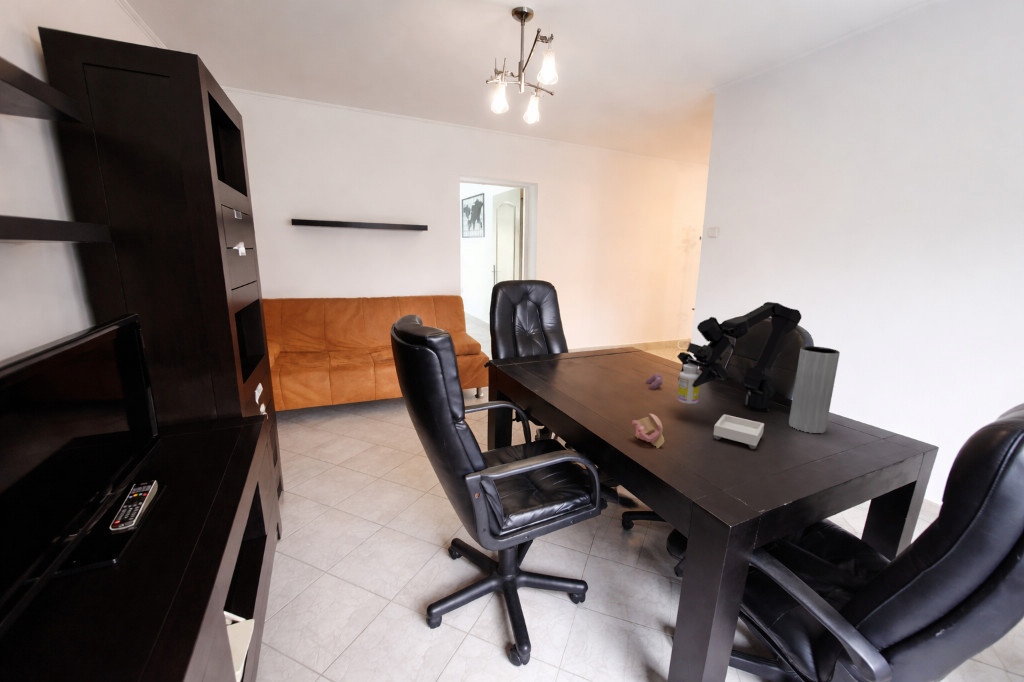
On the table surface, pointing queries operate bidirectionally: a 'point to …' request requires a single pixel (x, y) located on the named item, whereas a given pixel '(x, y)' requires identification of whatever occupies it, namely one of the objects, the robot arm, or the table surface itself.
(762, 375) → the robot arm
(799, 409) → the vase
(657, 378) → the purple lumpy piece
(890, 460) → the table surface
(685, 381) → the supplement bottle
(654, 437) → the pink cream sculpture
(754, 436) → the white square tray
